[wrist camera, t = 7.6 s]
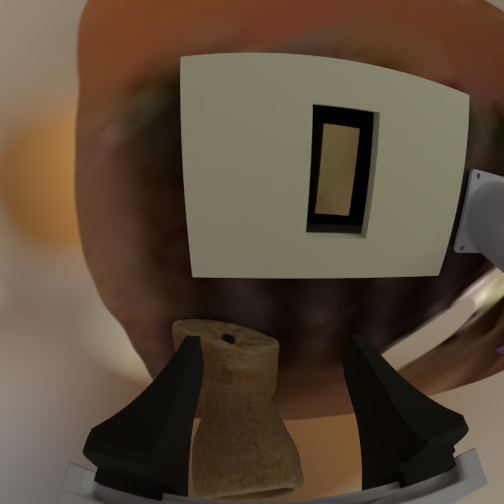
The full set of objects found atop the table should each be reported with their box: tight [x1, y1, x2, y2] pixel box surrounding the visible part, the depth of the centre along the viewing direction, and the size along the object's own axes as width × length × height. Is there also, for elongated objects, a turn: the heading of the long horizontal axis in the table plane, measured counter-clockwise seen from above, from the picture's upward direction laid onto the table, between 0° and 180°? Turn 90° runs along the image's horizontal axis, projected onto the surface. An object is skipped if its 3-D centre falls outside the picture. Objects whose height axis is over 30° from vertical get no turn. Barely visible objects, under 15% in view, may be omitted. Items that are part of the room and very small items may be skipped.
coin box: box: [180, 53, 469, 278], centre depth 16 cm, size 16×12×6 cm
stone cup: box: [172, 319, 304, 502], centre depth 22 cm, size 15×12×15 cm
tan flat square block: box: [308, 122, 360, 216], centre depth 17 cm, size 2×5×5 cm, turn 178°
